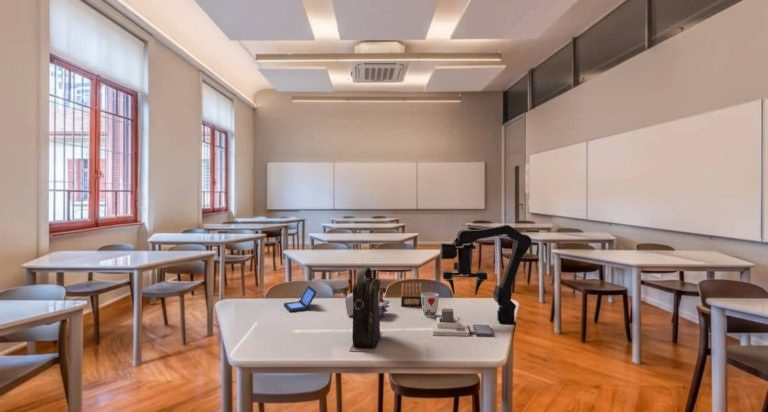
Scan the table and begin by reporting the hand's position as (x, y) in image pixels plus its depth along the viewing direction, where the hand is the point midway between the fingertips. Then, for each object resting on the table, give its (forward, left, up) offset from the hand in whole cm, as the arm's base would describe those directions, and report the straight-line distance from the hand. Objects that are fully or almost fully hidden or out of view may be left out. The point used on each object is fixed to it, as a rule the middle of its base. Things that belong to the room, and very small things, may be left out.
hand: (464, 294), depth 178 cm
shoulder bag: (+39, +27, -12) cm, 49 cm away
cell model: (+44, -8, -12) cm, 46 cm away
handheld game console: (+80, -19, -12) cm, 83 cm away
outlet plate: (+7, +11, -12) cm, 18 cm away
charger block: (+8, +9, -10) cm, 16 cm away
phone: (-6, +12, -12) cm, 18 cm away
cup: (+15, -9, -12) cm, 21 cm away
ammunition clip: (+24, -26, -12) cm, 37 cm away
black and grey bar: (-1, +15, -12) cm, 19 cm away
